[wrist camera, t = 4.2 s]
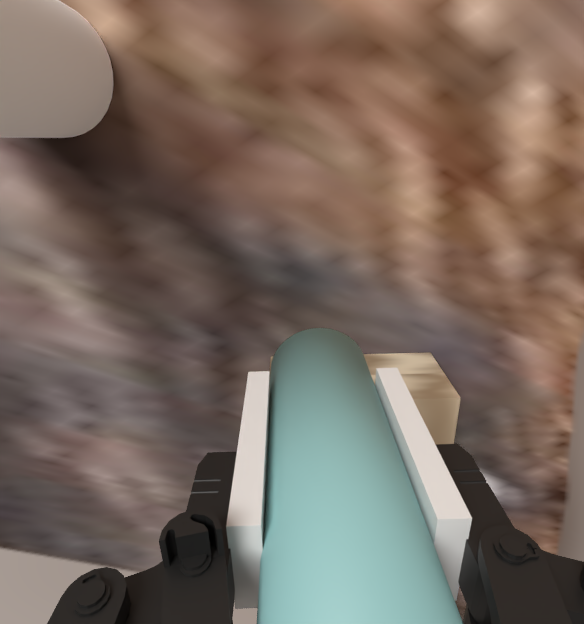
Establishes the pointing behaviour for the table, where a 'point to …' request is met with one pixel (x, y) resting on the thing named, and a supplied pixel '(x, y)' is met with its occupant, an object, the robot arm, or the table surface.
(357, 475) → the pin
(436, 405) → the block
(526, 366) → the table surface
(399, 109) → the table surface
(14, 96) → the cylindrical container
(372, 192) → the table surface
